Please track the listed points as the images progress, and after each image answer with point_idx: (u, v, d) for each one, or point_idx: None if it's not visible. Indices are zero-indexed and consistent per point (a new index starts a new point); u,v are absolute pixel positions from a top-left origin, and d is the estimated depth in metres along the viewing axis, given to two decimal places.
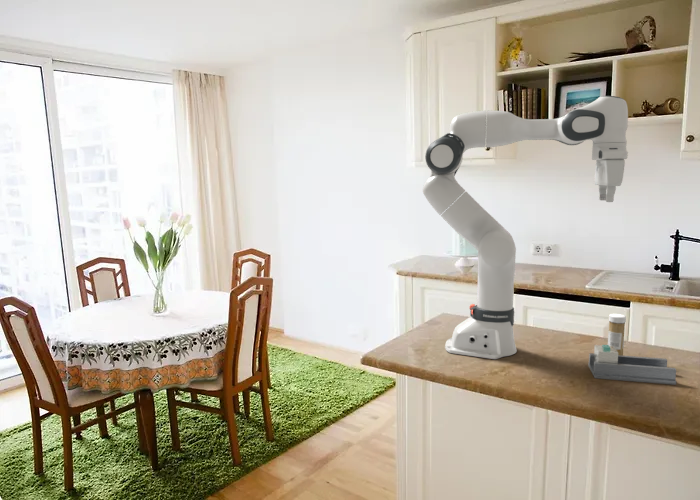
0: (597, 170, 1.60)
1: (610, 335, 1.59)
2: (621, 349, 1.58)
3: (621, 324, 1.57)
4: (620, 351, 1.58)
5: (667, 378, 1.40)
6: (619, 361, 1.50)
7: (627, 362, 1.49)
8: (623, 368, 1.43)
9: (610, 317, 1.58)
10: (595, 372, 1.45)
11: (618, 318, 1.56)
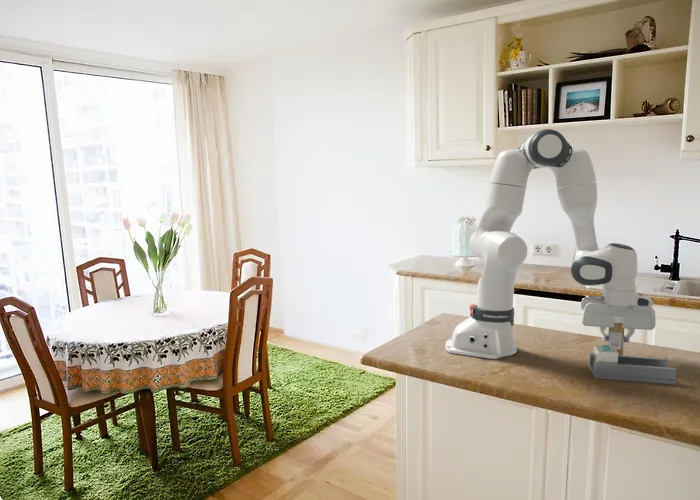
0: (593, 312, 1.59)
1: (610, 335, 1.59)
2: (621, 349, 1.58)
3: (621, 324, 1.57)
4: (620, 351, 1.58)
5: (667, 378, 1.40)
6: (619, 361, 1.50)
7: (627, 362, 1.49)
8: (623, 368, 1.43)
9: None
10: (595, 372, 1.45)
11: (618, 318, 1.56)
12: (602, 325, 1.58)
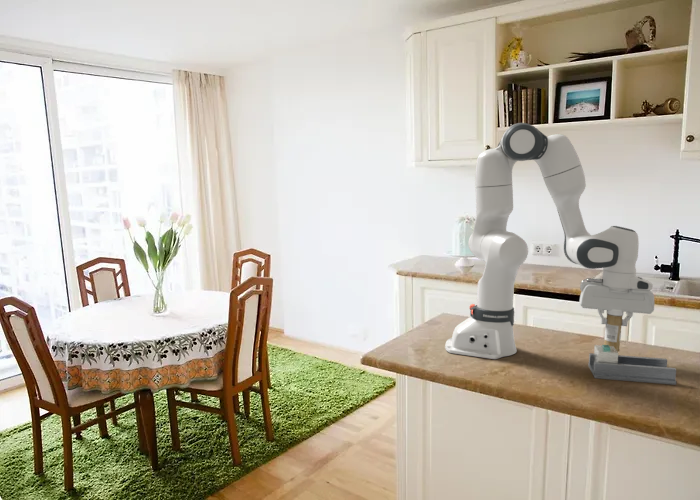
0: (592, 294, 1.58)
1: (607, 327, 1.59)
2: (617, 342, 1.58)
3: (618, 316, 1.57)
4: (616, 344, 1.58)
5: (667, 378, 1.40)
6: (619, 361, 1.50)
7: (627, 362, 1.49)
8: (623, 368, 1.43)
9: None
10: (595, 372, 1.45)
11: (615, 310, 1.56)
12: (601, 307, 1.58)
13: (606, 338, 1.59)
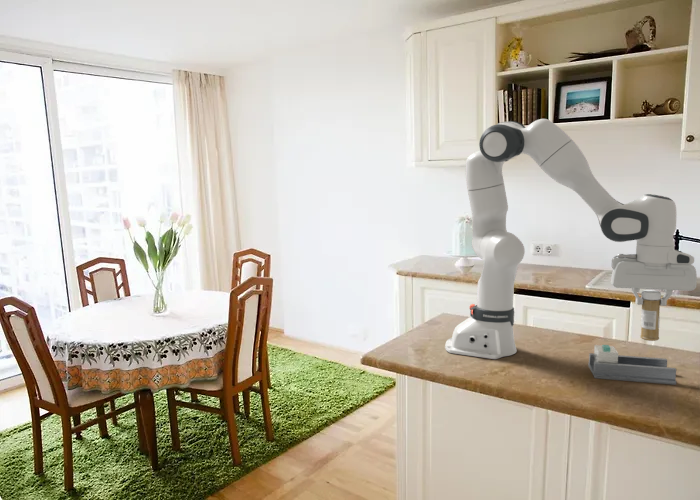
0: (626, 272, 1.42)
1: (643, 314, 1.43)
2: (656, 329, 1.42)
3: (655, 301, 1.41)
4: (655, 331, 1.42)
5: (667, 378, 1.40)
6: (619, 361, 1.50)
7: (627, 362, 1.49)
8: (623, 368, 1.43)
9: (643, 294, 1.42)
10: (595, 372, 1.45)
11: (652, 294, 1.40)
12: (636, 286, 1.41)
13: (643, 325, 1.43)
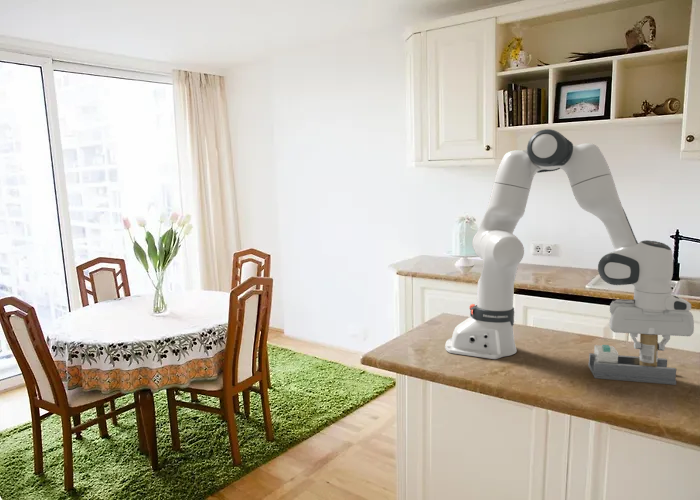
0: (624, 317, 1.44)
1: (642, 347, 1.44)
2: (655, 363, 1.43)
3: (654, 335, 1.42)
4: (653, 365, 1.43)
5: (667, 378, 1.40)
6: (619, 361, 1.50)
7: (627, 362, 1.49)
8: (623, 368, 1.43)
9: None
10: (595, 372, 1.45)
11: (650, 329, 1.42)
12: (634, 331, 1.43)
13: (642, 359, 1.45)
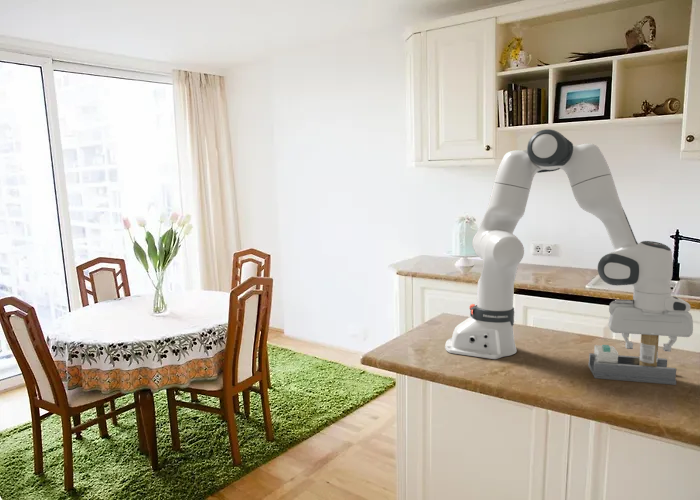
0: (623, 318, 1.44)
1: (642, 347, 1.44)
2: (654, 363, 1.43)
3: (655, 335, 1.42)
4: (653, 365, 1.43)
5: (667, 378, 1.40)
6: (619, 361, 1.50)
7: (627, 362, 1.49)
8: (623, 368, 1.43)
9: None
10: (595, 372, 1.45)
11: None
12: (633, 332, 1.43)
13: (642, 359, 1.45)
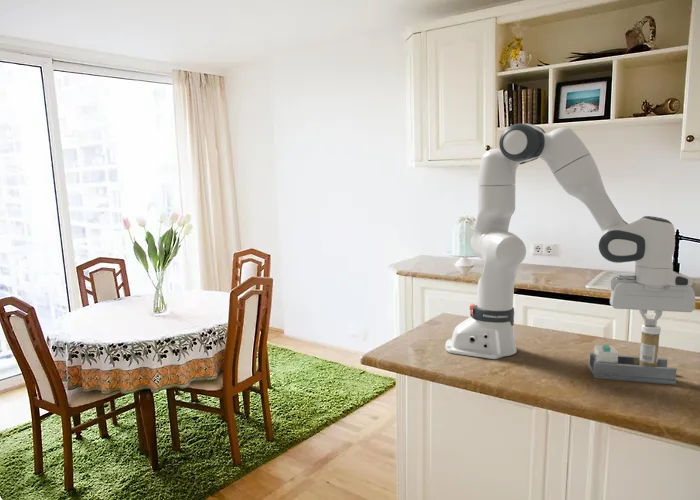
0: (625, 293, 1.43)
1: (642, 347, 1.44)
2: (655, 363, 1.43)
3: (655, 335, 1.42)
4: (653, 365, 1.43)
5: (667, 378, 1.40)
6: (619, 361, 1.50)
7: (627, 362, 1.49)
8: (623, 368, 1.43)
9: (643, 327, 1.44)
10: (595, 372, 1.45)
11: (652, 329, 1.42)
12: (635, 307, 1.42)
13: (642, 359, 1.45)
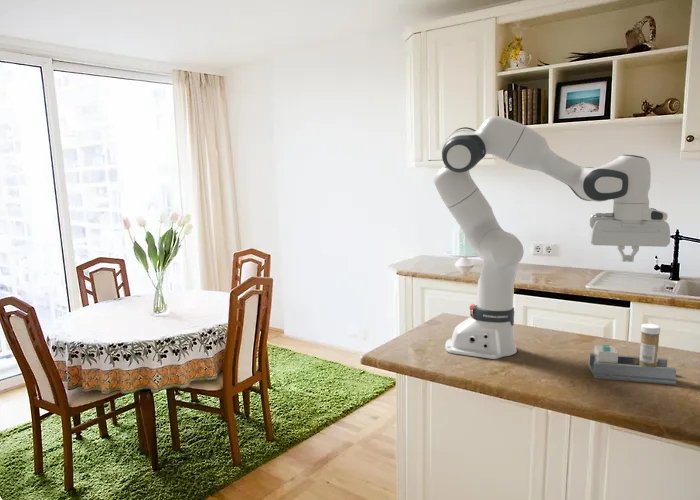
0: (603, 230, 1.48)
1: (642, 347, 1.44)
2: (655, 363, 1.43)
3: (655, 335, 1.42)
4: (653, 365, 1.43)
5: (667, 378, 1.40)
6: (619, 361, 1.50)
7: (627, 362, 1.49)
8: (623, 368, 1.43)
9: (642, 327, 1.44)
10: (595, 372, 1.45)
11: (651, 329, 1.42)
12: (613, 243, 1.48)
13: (642, 359, 1.45)
